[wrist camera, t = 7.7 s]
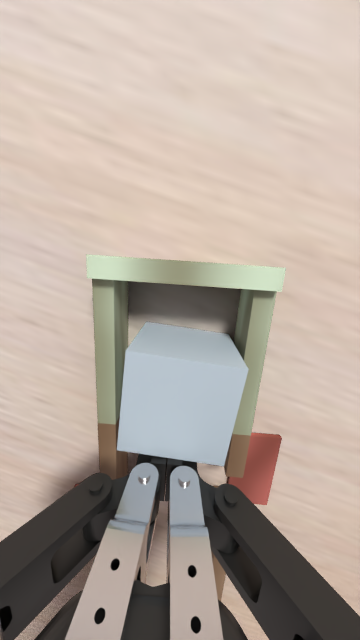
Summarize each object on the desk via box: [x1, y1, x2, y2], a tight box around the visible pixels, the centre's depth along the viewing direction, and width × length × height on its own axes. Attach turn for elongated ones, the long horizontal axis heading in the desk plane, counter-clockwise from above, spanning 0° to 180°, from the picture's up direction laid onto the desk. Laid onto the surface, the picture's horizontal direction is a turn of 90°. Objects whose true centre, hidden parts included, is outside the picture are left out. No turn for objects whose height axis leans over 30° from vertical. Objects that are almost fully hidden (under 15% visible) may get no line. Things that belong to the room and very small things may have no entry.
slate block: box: [117, 322, 249, 466], centre depth 11 cm, size 5×5×4 cm
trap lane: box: [75, 254, 286, 601], centre depth 14 cm, size 14×31×3 cm, turn 176°
